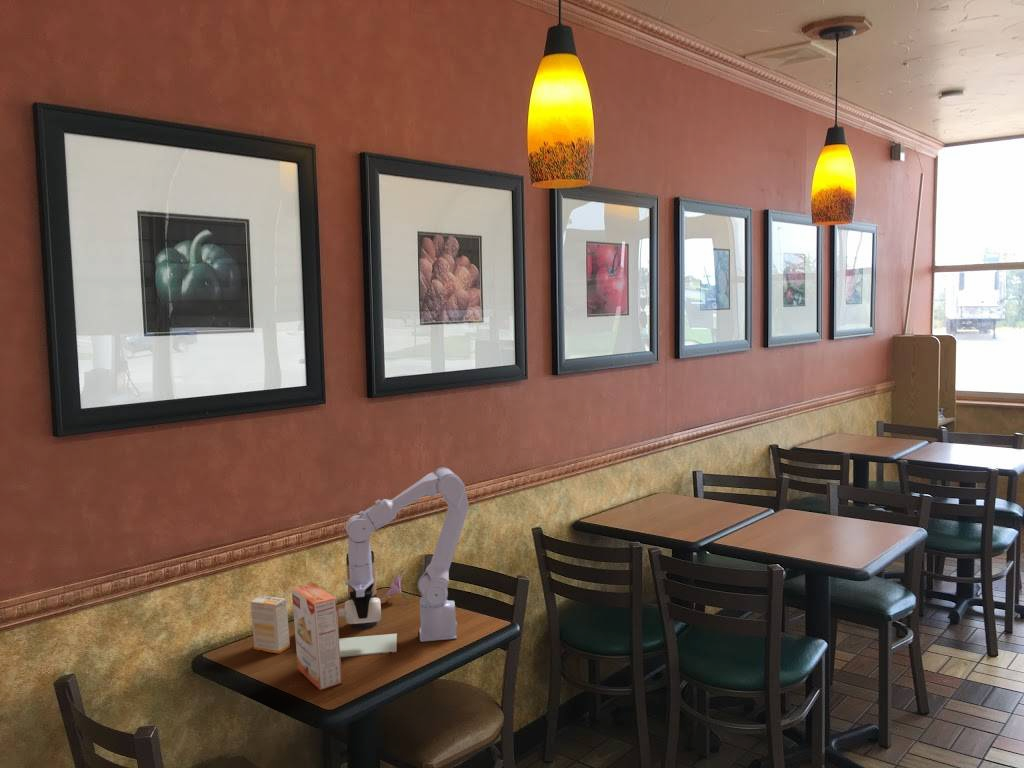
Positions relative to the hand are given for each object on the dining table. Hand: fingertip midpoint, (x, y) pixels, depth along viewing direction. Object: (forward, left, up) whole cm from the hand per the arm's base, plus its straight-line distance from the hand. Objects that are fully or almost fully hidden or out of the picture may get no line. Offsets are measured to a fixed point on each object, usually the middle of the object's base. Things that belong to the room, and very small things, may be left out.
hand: (363, 614), depth 212 cm
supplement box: (+24, -4, -9) cm, 26 cm away
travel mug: (+1, -15, -9) cm, 17 cm away
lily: (-7, -30, -9) cm, 32 cm away
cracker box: (+10, +16, -9) cm, 21 cm away
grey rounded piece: (0, 0, -1) cm, 1 cm away
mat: (0, 0, -8) cm, 8 cm away
